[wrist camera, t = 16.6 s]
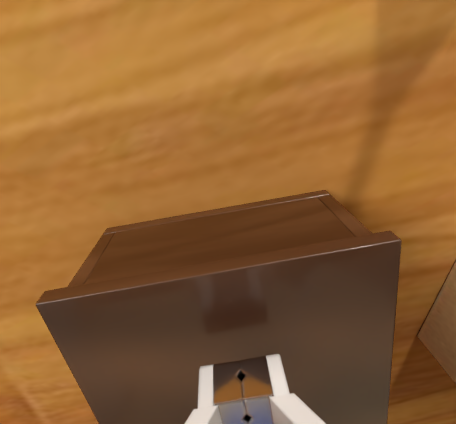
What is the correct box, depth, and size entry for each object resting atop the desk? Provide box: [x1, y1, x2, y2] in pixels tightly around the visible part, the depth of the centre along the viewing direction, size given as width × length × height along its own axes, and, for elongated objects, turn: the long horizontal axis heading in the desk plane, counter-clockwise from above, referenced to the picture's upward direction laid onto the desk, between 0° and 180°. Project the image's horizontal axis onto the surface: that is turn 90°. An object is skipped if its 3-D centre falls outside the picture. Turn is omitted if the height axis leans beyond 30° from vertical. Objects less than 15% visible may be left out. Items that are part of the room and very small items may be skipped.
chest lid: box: [36, 231, 401, 424], centre depth 15 cm, size 16×14×1 cm
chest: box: [68, 190, 373, 287], centre depth 19 cm, size 16×14×7 cm
